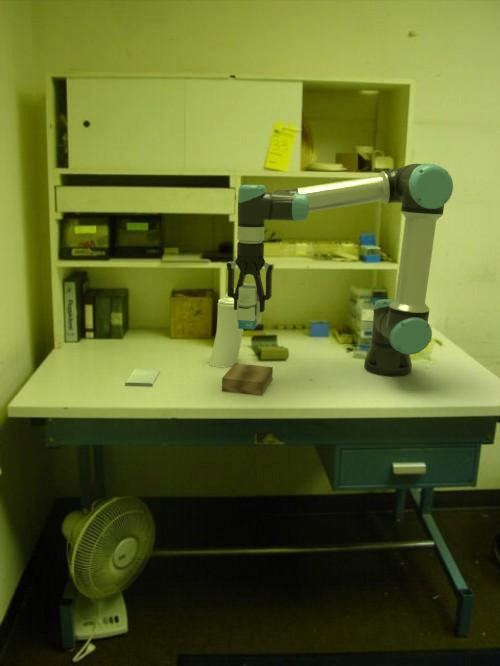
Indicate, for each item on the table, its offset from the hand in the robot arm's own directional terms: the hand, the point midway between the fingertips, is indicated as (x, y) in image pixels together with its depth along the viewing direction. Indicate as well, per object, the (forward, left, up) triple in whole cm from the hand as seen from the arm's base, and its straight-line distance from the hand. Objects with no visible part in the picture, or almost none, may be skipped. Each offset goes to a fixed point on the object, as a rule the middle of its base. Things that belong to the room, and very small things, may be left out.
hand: (248, 321), depth 178 cm
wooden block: (0, 0, -20) cm, 20 cm away
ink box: (0, 0, -1) cm, 1 cm away
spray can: (+12, -19, -20) cm, 30 cm away
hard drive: (+32, +4, -20) cm, 38 cm away
